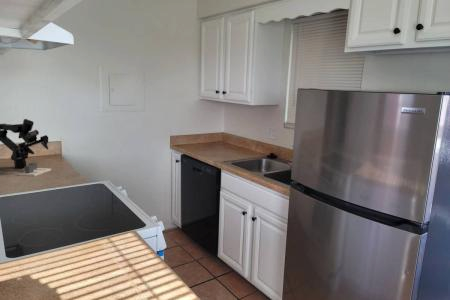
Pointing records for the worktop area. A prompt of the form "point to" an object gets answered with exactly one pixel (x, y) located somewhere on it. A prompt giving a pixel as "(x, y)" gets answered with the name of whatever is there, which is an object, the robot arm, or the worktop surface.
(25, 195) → the worktop surface
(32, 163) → the slider on
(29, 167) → the slider
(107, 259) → the worktop surface
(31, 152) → the robot arm
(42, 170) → the switch plate
